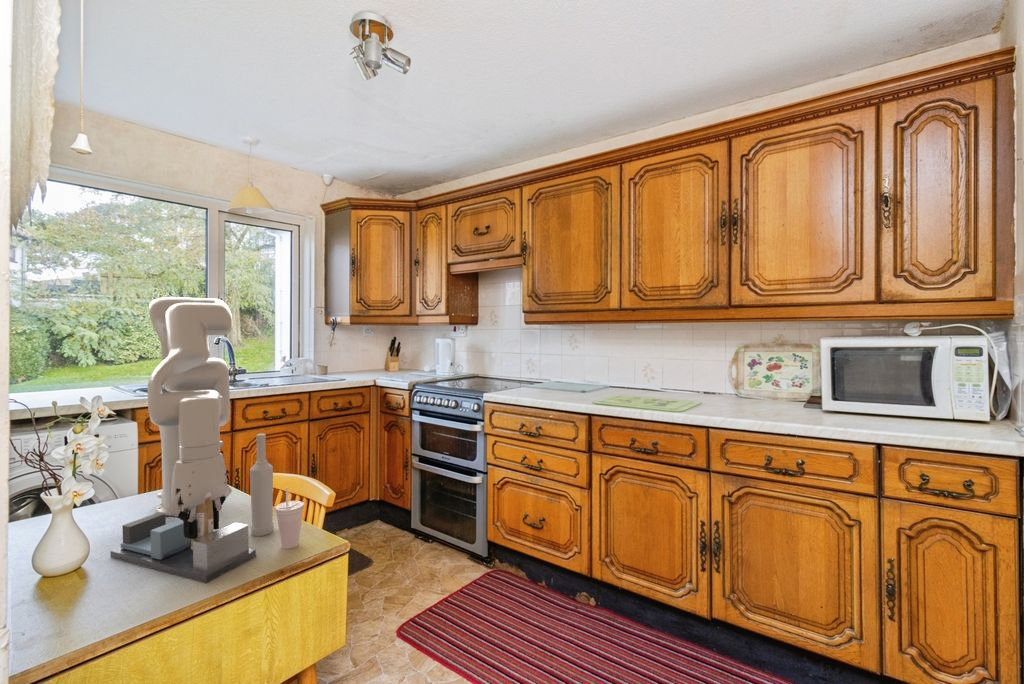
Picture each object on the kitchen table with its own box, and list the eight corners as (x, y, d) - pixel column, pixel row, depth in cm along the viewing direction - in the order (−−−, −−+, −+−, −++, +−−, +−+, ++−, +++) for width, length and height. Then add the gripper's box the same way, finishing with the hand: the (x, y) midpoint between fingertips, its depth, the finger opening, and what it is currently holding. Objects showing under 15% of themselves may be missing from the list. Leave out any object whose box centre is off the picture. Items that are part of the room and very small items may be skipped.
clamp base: (110, 557, 108) (109, 524, 108) (164, 535, 119) (164, 505, 119) (206, 583, 98) (205, 547, 97) (255, 556, 109) (255, 523, 109)
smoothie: (270, 545, 114) (270, 487, 114) (297, 536, 119) (297, 481, 119) (281, 554, 110) (280, 494, 109) (309, 545, 115) (308, 487, 114)
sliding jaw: (118, 548, 109) (117, 522, 108) (163, 530, 118) (162, 506, 118) (160, 559, 104) (160, 532, 104) (204, 540, 113) (203, 515, 113)
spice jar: (219, 544, 107) (217, 485, 107) (198, 553, 103) (197, 492, 103) (205, 540, 109) (204, 482, 109) (185, 549, 105) (183, 489, 105)
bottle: (251, 529, 123) (250, 433, 122) (274, 526, 125) (273, 431, 124) (249, 538, 118) (248, 437, 117) (273, 534, 120) (271, 435, 119)
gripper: (222, 441, 115) (224, 516, 115) (148, 460, 99) (150, 546, 100) (246, 444, 112) (247, 520, 113) (173, 463, 96) (175, 553, 97)
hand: (201, 532), depth 106 cm, fingers closed on spice jar, 4 cm apart
